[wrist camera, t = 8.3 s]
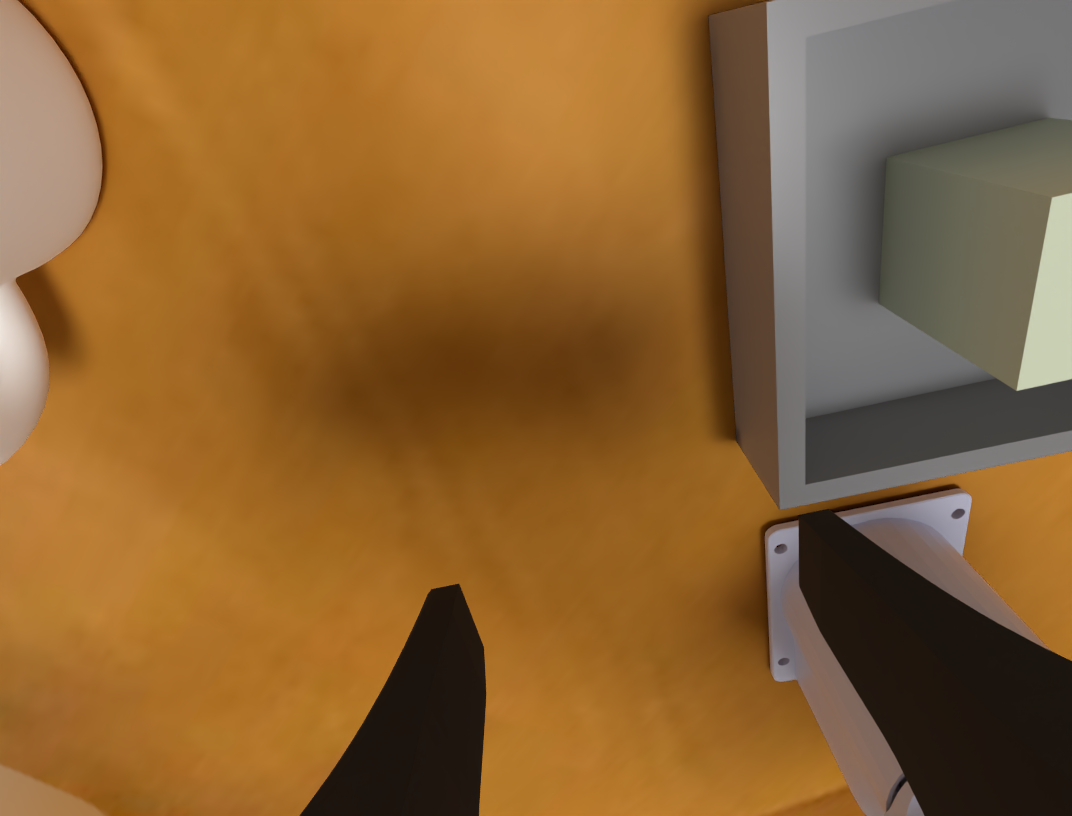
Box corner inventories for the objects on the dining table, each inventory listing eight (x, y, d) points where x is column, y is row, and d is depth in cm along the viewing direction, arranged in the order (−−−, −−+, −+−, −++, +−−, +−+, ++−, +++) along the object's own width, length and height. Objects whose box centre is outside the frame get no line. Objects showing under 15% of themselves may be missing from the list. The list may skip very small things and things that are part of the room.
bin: (1115, 362, 22) (1232, 418, 18) (736, 441, 23) (779, 509, 19) (1251, -121, 15) (1472, -175, 12) (708, 15, 16) (766, 2, 13)
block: (1022, 270, 19) (1216, 347, 14) (878, 303, 20) (1016, 391, 14) (1049, 117, 17) (1288, 141, 12) (886, 157, 18) (1052, 197, 12)
